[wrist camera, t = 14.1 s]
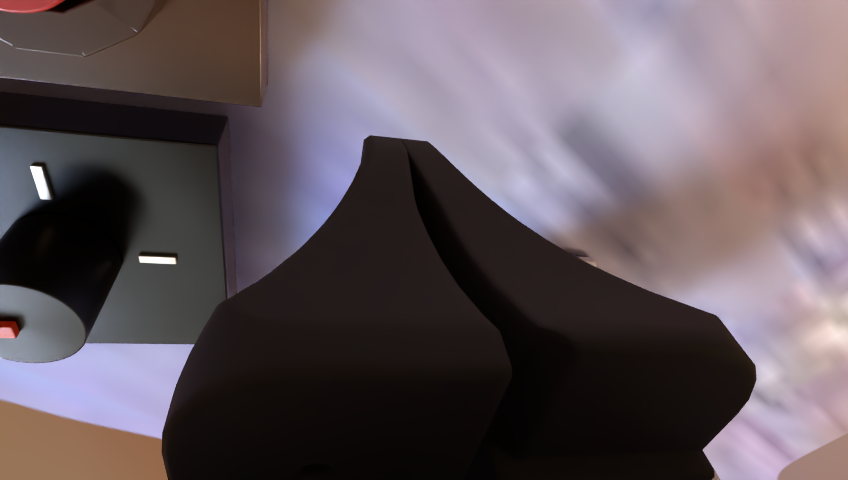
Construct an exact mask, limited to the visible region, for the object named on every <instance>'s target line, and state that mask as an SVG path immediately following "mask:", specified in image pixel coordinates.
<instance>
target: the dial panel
mask: <svg viewBox="0 0 848 480" xmlns="http://www.w3.org/2000/svg"><path fill="white" fill-rule="evenodd" d="M39 214H55V215H63V216H68V217H71V218H75V219H78V220H81V221H83V222H85V223H88V224H90V225H92V226H93V227H95V228H97V229H98V230H100V231H101V232H102V233H104V234H105V235H106V236H107V237H108V238H109V239H110V240H111V241H112V242H113V244H114V245H115V246H116V248H117V250H118V252H119V255H120V259H121V268H120V272H119V274H118V276H117V278H116V280H115V282H114V284H113V286H112V288H111V290H110V292H109V295H108V297H107V299H106V301H105V303H104V305H103V307H102V309H101V311H100V313H99V315H98V317H97V320H96V322H95V324H94V326H93V328H92V330H91V332H90V334H89V336H88V338H87V340H86V342H85V343H134V344H195V343H196V341H197V339H198V337H199V335H200V333H201V332H202V330H203V328H204V327H205V325H206V323H207V322H208V320H209V318H210V317H211V315H212V313H213V312H214V310H215V308H216V307H217V305H218V304H220V303H221V302H223V301H224V300H226V299H228V298H230V297H232V296H234V295H235V294H237V283H236V262H235V242H234V222H233V201H232V181H231V161H230V140H229V120H228V117H227V116H219V115H209V114H200V113H191V112H182V111H172V110H163V109H154V108H145V107H135V106H126V105H117V104H107V103H98V102H89V101H80V100H70V99H61V98H52V97H43V96H33V95H24V94H15V93H6V92H0V239H1V237H2V236H3V235H4V234H5V232H6V231H7V230H8V229H9V228H10V227H11V226H12V225H13V224H14V223H15V222H17V221H18V220H21V219H23V218H25V217H29V216H33V215H39Z"/></svg>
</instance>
